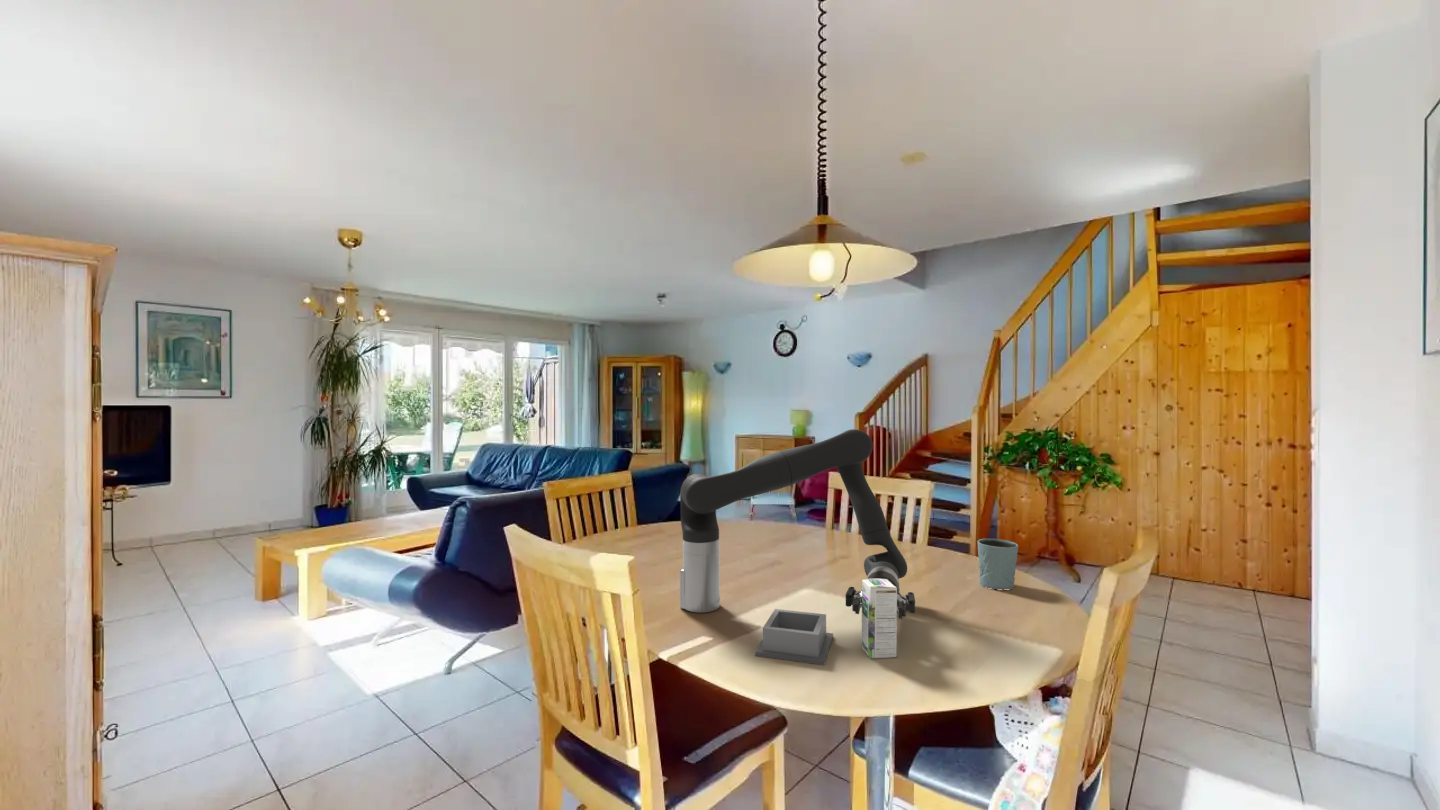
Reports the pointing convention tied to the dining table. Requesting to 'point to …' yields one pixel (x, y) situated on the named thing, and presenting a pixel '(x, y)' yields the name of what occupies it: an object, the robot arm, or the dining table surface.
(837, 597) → the dining table surface
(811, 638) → the holder
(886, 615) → the syrup box
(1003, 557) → the grey-green plant pot
